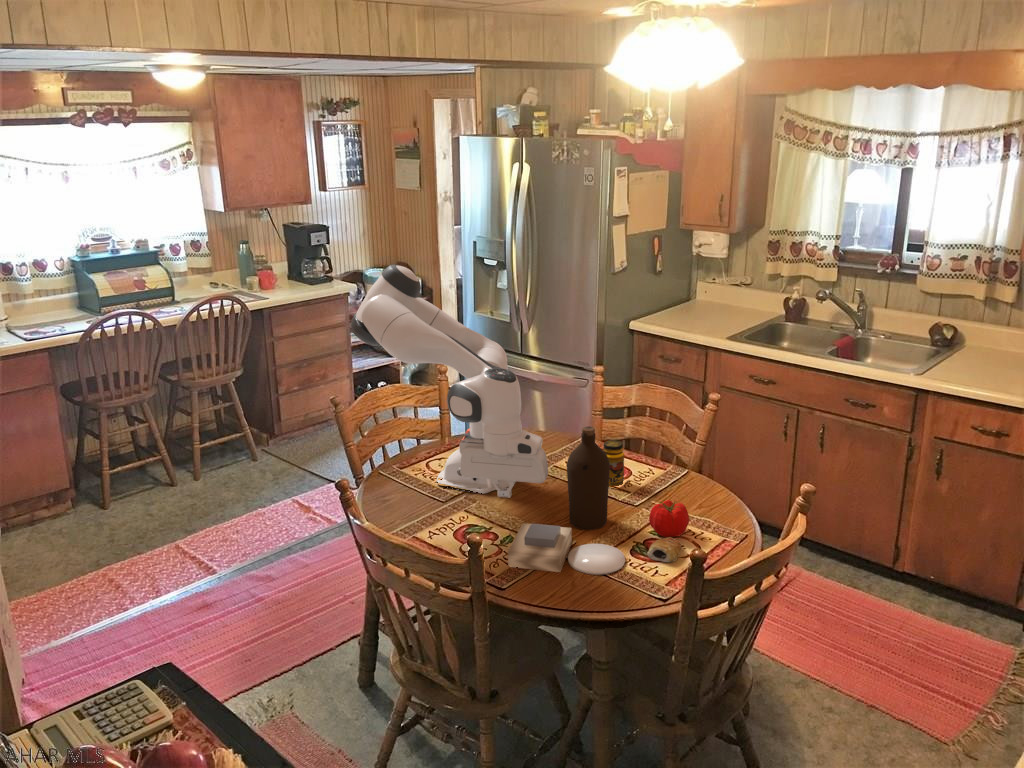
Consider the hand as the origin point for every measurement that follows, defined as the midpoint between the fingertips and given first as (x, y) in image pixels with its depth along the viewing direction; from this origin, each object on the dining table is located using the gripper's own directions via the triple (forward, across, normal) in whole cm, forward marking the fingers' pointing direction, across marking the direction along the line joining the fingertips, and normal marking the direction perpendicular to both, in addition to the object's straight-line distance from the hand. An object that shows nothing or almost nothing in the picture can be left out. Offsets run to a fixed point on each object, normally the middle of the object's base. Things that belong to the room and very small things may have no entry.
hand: (504, 496), depth 193 cm
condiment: (+14, +18, +44) cm, 50 cm away
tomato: (+14, +36, +18) cm, 43 cm away
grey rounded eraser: (+10, +9, 0) cm, 13 cm away
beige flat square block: (+14, +8, 0) cm, 16 cm away
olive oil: (+14, +16, +19) cm, 29 cm away
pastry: (+15, +36, +7) cm, 40 cm away
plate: (+14, +21, 0) cm, 26 cm away
